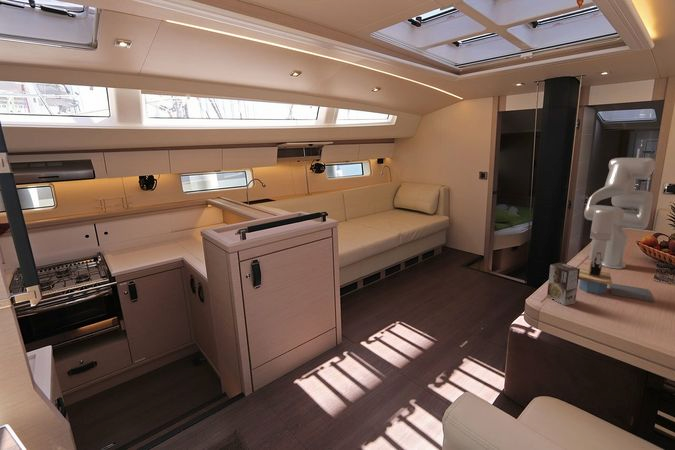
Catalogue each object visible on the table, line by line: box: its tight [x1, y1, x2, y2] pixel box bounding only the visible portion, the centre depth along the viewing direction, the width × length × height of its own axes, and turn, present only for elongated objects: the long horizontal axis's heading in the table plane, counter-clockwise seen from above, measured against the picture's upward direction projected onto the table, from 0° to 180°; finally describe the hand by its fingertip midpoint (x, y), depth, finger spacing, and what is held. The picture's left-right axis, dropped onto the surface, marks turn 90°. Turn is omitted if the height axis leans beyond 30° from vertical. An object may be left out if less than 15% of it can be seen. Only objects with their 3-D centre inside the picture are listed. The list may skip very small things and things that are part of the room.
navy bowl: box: [578, 280, 608, 295], centre depth 153 cm, size 10×10×6 cm
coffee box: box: [546, 262, 581, 306], centre depth 143 cm, size 9×6×16 cm
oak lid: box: [578, 260, 613, 285], centre depth 152 cm, size 12×12×7 cm
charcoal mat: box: [608, 282, 655, 303], centre depth 149 cm, size 14×14×1 cm
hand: (594, 272), depth 152 cm, fingers closed on oak lid, 4 cm apart
